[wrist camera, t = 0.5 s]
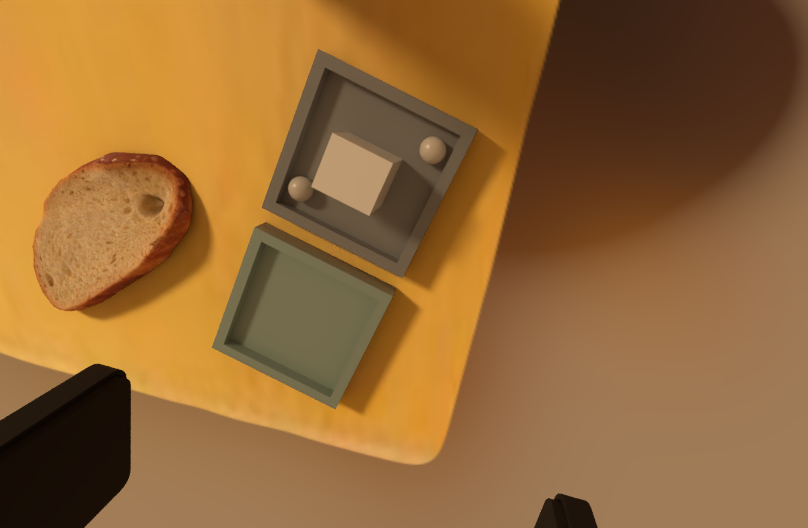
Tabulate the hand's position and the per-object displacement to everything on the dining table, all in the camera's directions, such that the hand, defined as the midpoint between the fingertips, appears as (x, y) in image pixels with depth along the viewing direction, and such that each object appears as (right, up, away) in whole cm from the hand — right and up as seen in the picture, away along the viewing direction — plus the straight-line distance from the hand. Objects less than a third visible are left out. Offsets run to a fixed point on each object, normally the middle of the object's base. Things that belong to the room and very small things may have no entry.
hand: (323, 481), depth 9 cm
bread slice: (-28, +8, +35) cm, 45 cm away
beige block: (-2, +13, +27) cm, 30 cm away
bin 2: (-8, 0, +34) cm, 35 cm away
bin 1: (-1, +13, +28) cm, 31 cm away
